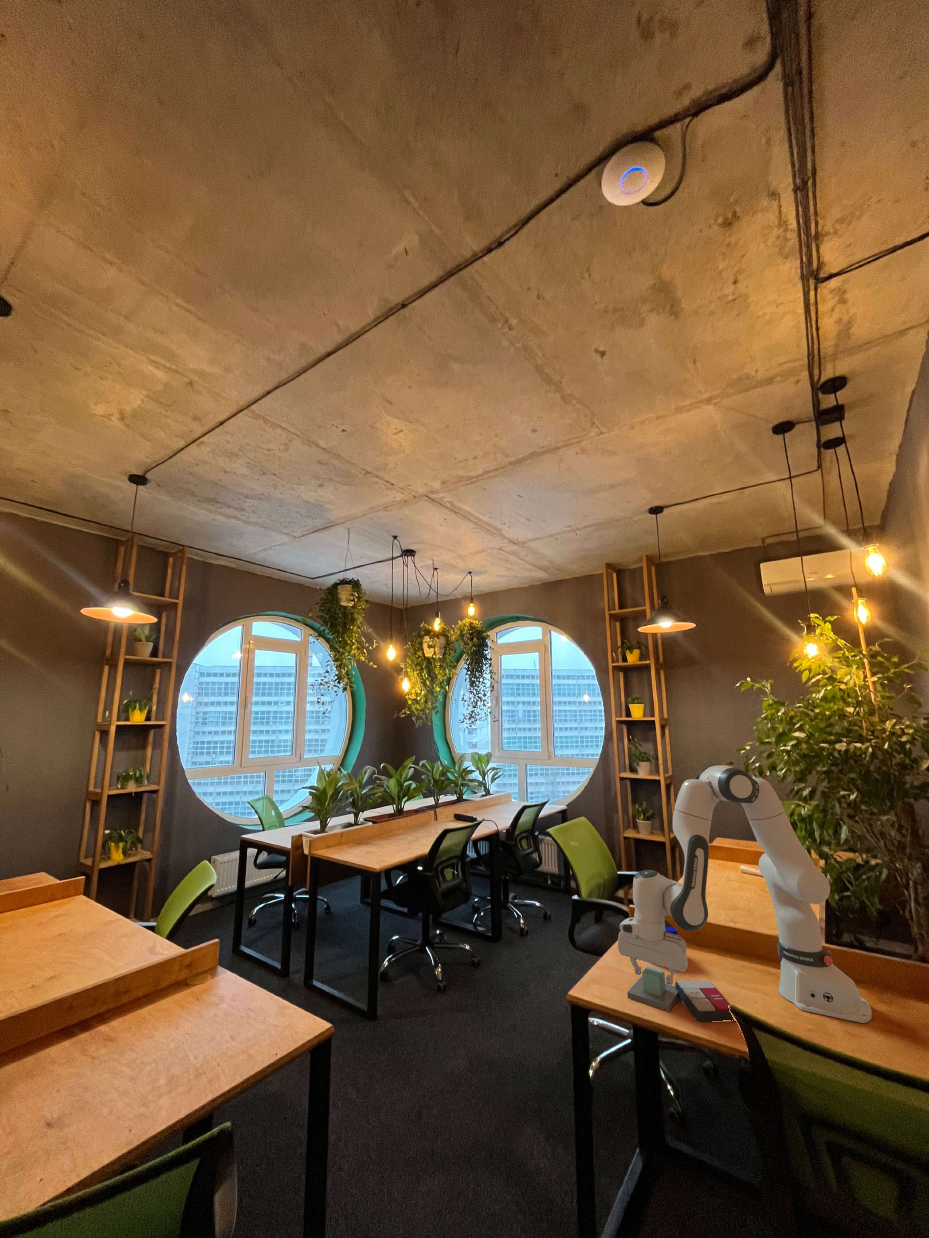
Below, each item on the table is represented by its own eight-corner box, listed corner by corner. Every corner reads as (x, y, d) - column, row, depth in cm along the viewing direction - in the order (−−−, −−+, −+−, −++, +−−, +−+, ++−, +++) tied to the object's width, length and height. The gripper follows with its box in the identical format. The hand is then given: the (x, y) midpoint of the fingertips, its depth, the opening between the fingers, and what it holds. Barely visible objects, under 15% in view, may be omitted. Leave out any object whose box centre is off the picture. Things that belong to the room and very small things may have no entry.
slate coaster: (681, 993, 153) (680, 988, 153) (669, 1011, 144) (668, 1005, 144) (641, 981, 160) (641, 976, 161) (627, 997, 151) (627, 991, 151)
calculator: (697, 1009, 139) (674, 978, 154) (698, 1026, 138) (675, 994, 153) (737, 1008, 139) (710, 978, 154) (738, 1025, 139) (711, 993, 153)
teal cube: (665, 989, 153) (664, 970, 154) (660, 996, 149) (658, 977, 150) (648, 984, 156) (647, 965, 157) (643, 990, 152) (642, 972, 153)
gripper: (688, 933, 152) (692, 984, 149) (622, 917, 164) (625, 964, 161) (682, 940, 147) (686, 994, 144) (614, 923, 159) (617, 972, 157)
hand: (653, 978), depth 153 cm, fingers open, 8 cm apart
